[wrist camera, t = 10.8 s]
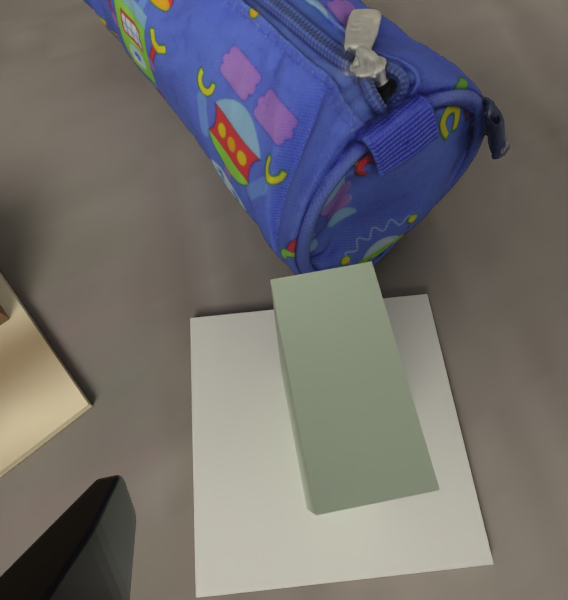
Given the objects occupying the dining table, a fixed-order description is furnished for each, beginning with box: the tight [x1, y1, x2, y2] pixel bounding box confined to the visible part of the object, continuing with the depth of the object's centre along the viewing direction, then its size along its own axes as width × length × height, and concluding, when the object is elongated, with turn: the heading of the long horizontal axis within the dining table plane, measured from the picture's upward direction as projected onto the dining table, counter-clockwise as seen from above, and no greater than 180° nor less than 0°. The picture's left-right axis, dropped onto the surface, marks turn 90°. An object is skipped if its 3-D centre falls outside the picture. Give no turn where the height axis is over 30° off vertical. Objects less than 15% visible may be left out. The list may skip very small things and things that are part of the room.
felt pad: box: [190, 294, 493, 598], centre depth 18 cm, size 10×10×1 cm
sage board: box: [270, 262, 440, 515], centre depth 14 cm, size 5×2×8 cm, turn 11°
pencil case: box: [84, 0, 510, 275], centre depth 20 cm, size 22×9×10 cm, turn 35°
